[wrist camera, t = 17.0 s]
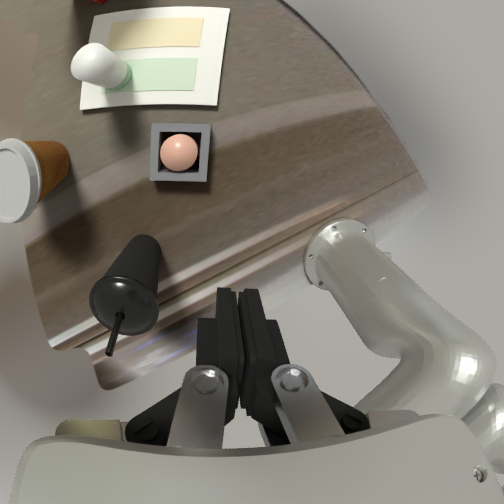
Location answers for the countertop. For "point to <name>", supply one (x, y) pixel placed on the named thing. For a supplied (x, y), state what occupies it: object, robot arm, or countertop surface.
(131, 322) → the drinking cup
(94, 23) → the picture board
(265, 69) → the countertop surface
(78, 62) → the white cylinder
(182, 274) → the countertop surface
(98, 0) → the baking soda box
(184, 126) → the button housing
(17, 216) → the disposable coffee cup
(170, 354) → the countertop surface
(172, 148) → the button cap
